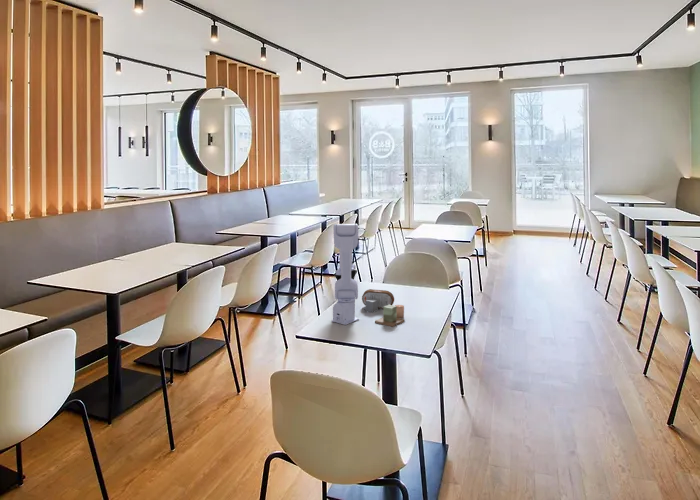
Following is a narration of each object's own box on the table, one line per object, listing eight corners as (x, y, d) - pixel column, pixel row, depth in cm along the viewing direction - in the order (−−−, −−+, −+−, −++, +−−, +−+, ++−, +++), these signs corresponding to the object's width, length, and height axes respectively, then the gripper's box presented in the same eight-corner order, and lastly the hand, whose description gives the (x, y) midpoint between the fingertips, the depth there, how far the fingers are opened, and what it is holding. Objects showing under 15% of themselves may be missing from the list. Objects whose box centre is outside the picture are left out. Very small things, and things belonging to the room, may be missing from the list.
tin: (394, 308, 222) (394, 290, 221) (393, 310, 219) (393, 292, 218) (362, 305, 226) (362, 288, 225) (361, 307, 223) (361, 290, 222)
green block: (391, 322, 200) (391, 308, 199) (383, 320, 202) (383, 306, 201) (396, 319, 203) (396, 306, 202) (388, 318, 205) (388, 304, 204)
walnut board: (392, 327, 196) (392, 325, 196) (375, 322, 202) (375, 320, 202) (404, 321, 203) (404, 319, 203) (387, 317, 209) (387, 315, 209)
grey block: (372, 312, 216) (372, 301, 215) (365, 311, 218) (365, 300, 217) (377, 310, 219) (377, 300, 218) (370, 308, 221) (370, 298, 220)
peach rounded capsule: (400, 319, 206) (400, 308, 205) (392, 317, 209) (393, 306, 208) (405, 316, 209) (405, 305, 208) (397, 315, 212) (398, 304, 211)
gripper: (345, 261, 208) (345, 292, 211) (361, 256, 221) (361, 284, 223) (331, 260, 212) (332, 290, 214) (347, 254, 224) (348, 283, 226)
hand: (346, 287), depth 219 cm, fingers open, 7 cm apart
